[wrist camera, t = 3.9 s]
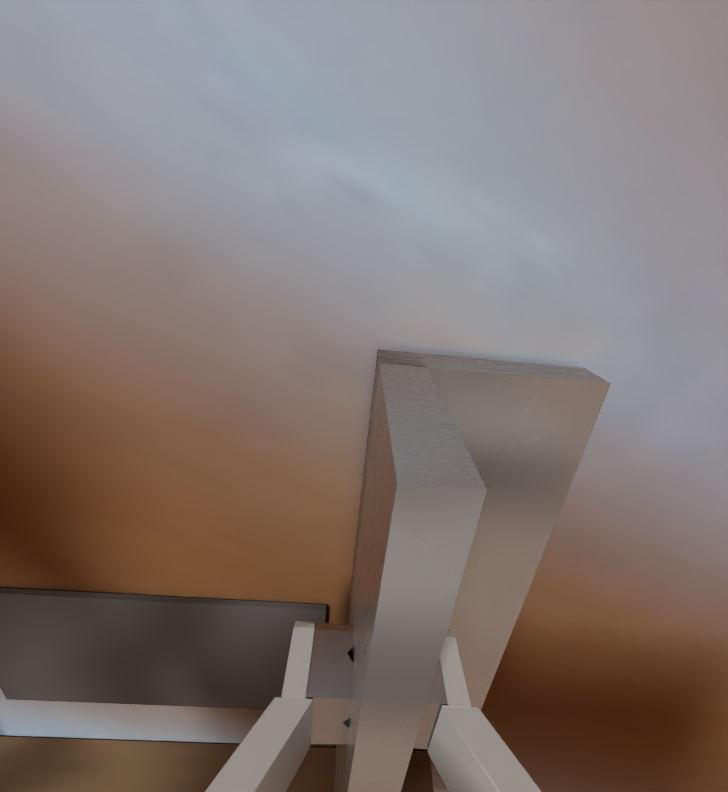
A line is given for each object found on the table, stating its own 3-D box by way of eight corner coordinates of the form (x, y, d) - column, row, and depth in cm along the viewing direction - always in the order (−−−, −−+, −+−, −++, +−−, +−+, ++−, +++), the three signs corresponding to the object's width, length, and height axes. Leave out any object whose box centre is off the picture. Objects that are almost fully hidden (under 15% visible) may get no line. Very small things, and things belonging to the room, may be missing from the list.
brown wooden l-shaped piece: (489, 553, 11) (540, 677, 8) (423, 767, 17) (437, 892, 14) (-243, 509, 11) (-507, 630, 7) (-64, 752, 16) (-170, 882, 13)
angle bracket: (377, 349, 9) (397, 483, 4) (584, 368, 9) (828, 515, 4) (338, 695, 14) (328, 914, 10) (464, 701, 14) (512, 917, 10)
